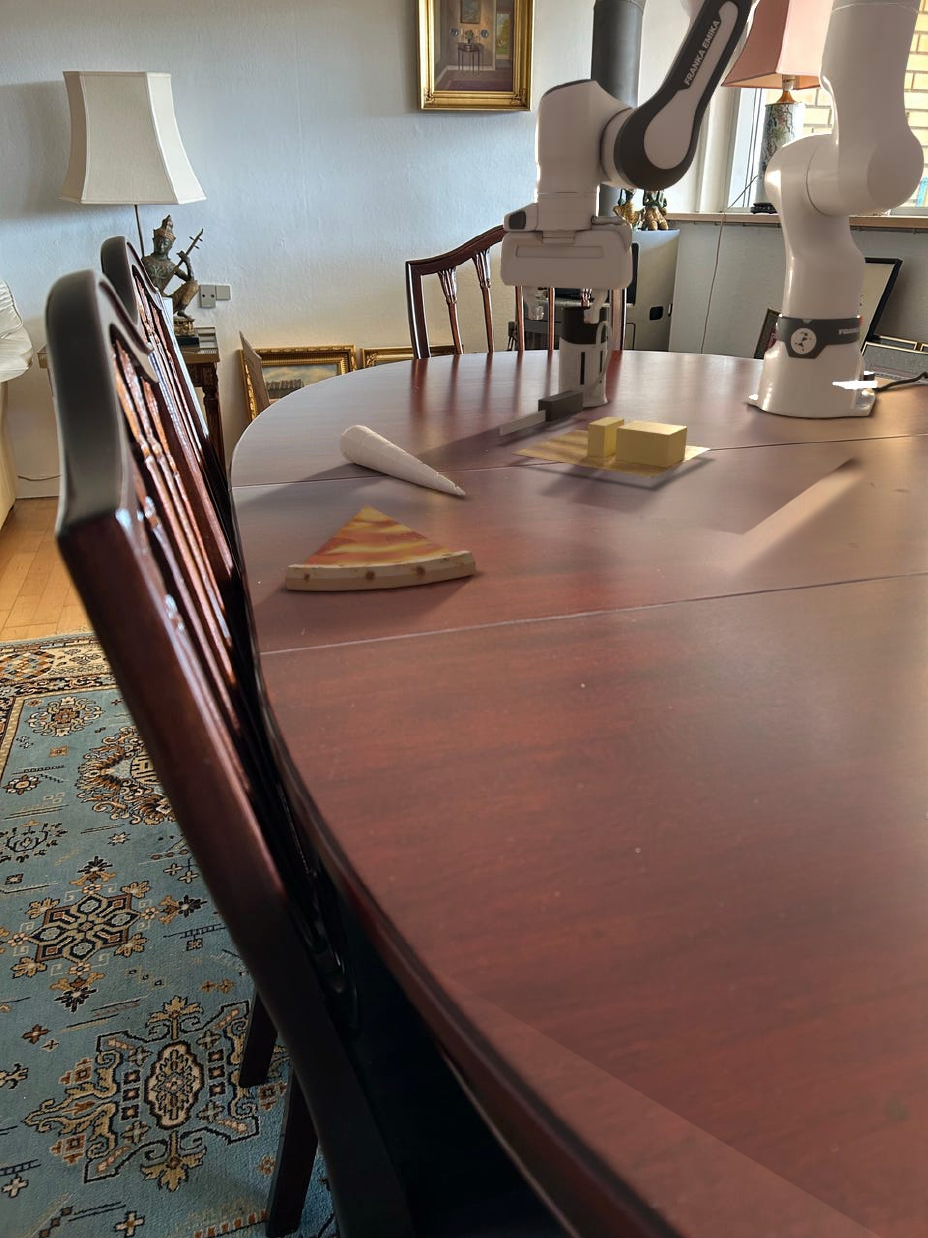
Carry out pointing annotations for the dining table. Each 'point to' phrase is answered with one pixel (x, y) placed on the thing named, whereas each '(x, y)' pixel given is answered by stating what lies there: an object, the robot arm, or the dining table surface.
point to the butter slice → (603, 436)
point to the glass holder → (584, 354)
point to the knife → (548, 411)
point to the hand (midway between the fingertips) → (562, 321)
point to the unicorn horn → (390, 459)
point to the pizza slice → (377, 558)
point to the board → (575, 452)
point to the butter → (650, 443)
